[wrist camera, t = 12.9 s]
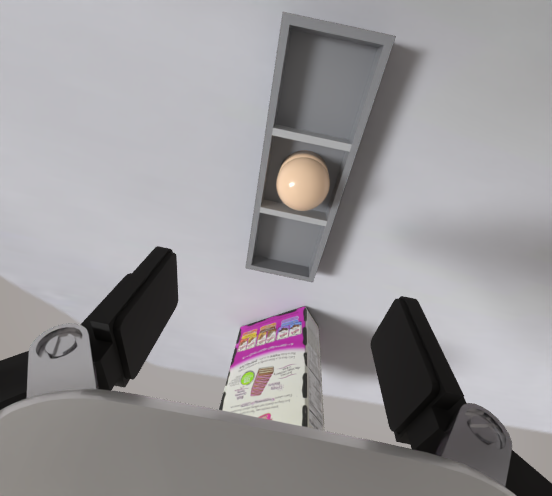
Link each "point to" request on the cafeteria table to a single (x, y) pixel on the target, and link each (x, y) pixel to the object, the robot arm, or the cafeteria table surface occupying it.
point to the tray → (312, 133)
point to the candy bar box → (277, 371)
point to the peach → (303, 180)
